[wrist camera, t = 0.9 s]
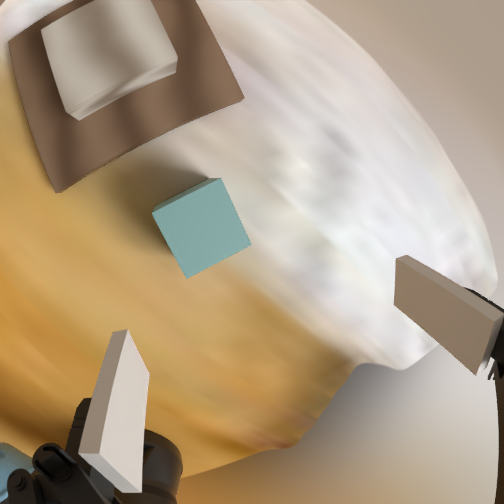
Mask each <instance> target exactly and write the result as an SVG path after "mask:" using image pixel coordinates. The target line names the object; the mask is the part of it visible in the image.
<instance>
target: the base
mask: <svg viewBox="0 0 504 504" xmlns="http://www.w3.org/2000/svg"><path fill="white" fill-rule="evenodd" d="M8 43H9V49H10V54H11V59H12V64H13V68H14V73H15V77H16V81H17V85H18V89H19V93H20V96H21V100H22V104H23V107H24V110H25V114H26V117H27V120H28V123H29V126H30V129H31V132H32V135H33V138H34V141H35V143H36V146H37V149H38V152H39V154H40V157H41V159H42V162H43V164H44V167H45V169H46V172H47V174H48V177H49V179H50V181H51V184H52V186H53V188H54V191H55V193H61V192H62V191H64V190H65V189H67V188H68V187H70V186H71V185H73V184H75V183H76V182H78V181H79V180H81V179H82V178H84V177H86V176H87V175H89V174H90V173H92V172H94V171H95V170H97V169H99V168H100V167H102V166H104V165H106V164H107V163H109V162H111V161H113V160H114V159H116V158H118V157H120V156H121V155H123V154H125V153H127V152H129V151H131V150H133V149H134V148H136V147H138V146H140V145H142V144H144V143H146V142H148V141H150V140H152V139H154V138H156V137H158V136H160V135H162V134H164V133H166V132H168V131H171V130H173V129H175V128H177V127H179V126H181V125H184V124H186V123H188V122H190V121H193V120H195V119H197V118H200V117H202V116H204V115H207V114H209V113H212V112H214V111H217V110H219V109H222V108H224V107H227V106H230V105H232V104H235V103H238V102H240V101H242V100H243V99H244V95H243V93H242V91H241V89H240V87H239V85H238V83H237V81H236V79H235V77H234V74H233V72H232V70H231V68H230V66H229V64H228V62H227V60H226V58H225V56H224V54H223V52H222V50H221V48H220V46H219V44H218V42H217V40H216V38H215V36H214V34H213V33H212V31H211V29H210V27H209V25H208V23H207V21H206V19H205V17H204V15H203V14H202V12H201V10H200V8H199V6H198V4H197V3H196V1H195V0H74V1H72V2H70V3H68V4H66V5H64V6H62V7H61V8H59V9H57V10H55V11H54V12H52V13H50V14H49V15H47V16H45V17H44V18H42V19H40V20H39V21H37V22H36V23H34V24H33V25H31V26H30V27H28V28H27V29H25V30H24V31H22V32H21V33H19V34H18V35H17V36H15V37H14V38H13V39H11V40H10V41H9V42H8Z"/></svg>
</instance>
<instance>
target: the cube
mask: <svg viewBox="0 0 504 504" xmlns="http://www.w3.org/2000/svg"><path fill="white" fill-rule="evenodd" d="M152 215H153V217H154V219H155V221H156V223H157V225H158V227H159V229H160V230H161V232H162V234H163V236H164V238H165V240H166V242H167V244H168V246H169V247H170V249H171V251H172V253H173V255H174V257H175V259H176V260H177V262H178V264H179V266H180V268H181V269H182V271H183V273H184V275H185V277H186V278H189V277H191V276H193V275H195V274H197V273H199V272H201V271H203V270H204V269H206V268H208V267H210V266H212V265H214V264H216V263H218V262H220V261H222V260H224V259H225V258H227V257H229V256H231V255H233V254H235V253H237V252H239V251H241V250H243V249H245V248H247V247H248V246H250V245H252V244H251V242H250V240H249V238H248V236H247V234H246V231H245V229H244V227H243V225H242V223H241V220H240V218H239V216H238V214H237V212H236V210H235V207H234V205H233V203H232V201H231V199H230V196H229V194H228V192H227V190H226V188H225V186H224V183H223V181H222V179H221V178H210V179H208V180H206V181H204V182H202V183H199V184H197V185H195V186H193V187H191V188H189V189H187V190H185V191H183V192H181V193H179V194H177V195H175V196H174V197H172V198H170V199H168V200H166V201H164V202H162V203H160V204H158V205H156V206H155V207H154V209H153V212H152Z"/></svg>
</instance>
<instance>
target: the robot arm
mask: <svg viewBox="0 0 504 504" xmlns="http://www.w3.org/2000/svg"><path fill="white" fill-rule="evenodd" d="M394 305H395V306H396V307H397V308H398V309H400V310H401V311H402V312H403V313H404V314H406V315H407V316H408V317H409V318H410V319H412V320H413V321H414V322H415V323H416V324H417V325H419V326H420V327H421V328H422V329H423V330H424V331H426V332H427V333H428V334H429V335H430V336H431V337H433V338H434V339H435V340H436V341H437V342H438V343H440V344H441V345H442V346H443V347H444V348H445V349H446V350H448V351H449V352H450V353H451V354H452V355H453V356H454V357H455V358H457V359H458V360H459V361H460V362H461V363H462V364H463V365H464V366H465V367H466V368H468V369H469V370H470V371H471V372H472V373H473V374H474V375H475V376H476V375H478V374H479V373H480V372H481V371H483V370H484V369H485V368H486V367H487V365H488V362H489V359H490V357H492V358H493V359H494V360H495V361H494V363H493V366H492V368H491V371H490V373H489V375H488V380H490V378H491V376H492V374H493V373H494V377H493V380H495V386H496V395H497V407H498V425H499V461H498V478H497V489H496V498H495V504H504V309H502V308H501V307H499V306H498V305H496V304H495V303H493V302H492V301H490V300H488V299H487V298H485V297H484V296H481V295H480V294H479V293H477V292H476V291H474V290H471V289H468V288H465V287H462V286H460V285H458V284H457V283H455V282H453V281H452V280H450V279H448V278H447V277H445V276H443V275H442V274H440V273H438V272H436V271H435V270H433V269H431V268H430V267H428V266H426V265H424V264H423V263H421V262H419V261H417V260H415V259H414V258H412V257H410V256H408V255H405V256H402V257H399V258H396V272H395V294H394ZM149 375H150V374H149V372H148V370H147V368H146V366H145V364H144V362H143V360H142V358H141V356H140V354H139V352H138V350H137V348H136V346H135V344H134V342H133V339H132V337H131V335H130V333H129V331H128V329H126V330H121V331H116V332H113V334H112V336H111V339H110V342H109V345H108V348H107V351H106V354H105V357H104V360H103V363H102V366H101V369H100V373H99V376H98V379H97V382H96V386H95V389H94V393H93V396H92V398H84V399H83V400H82V402H81V403H80V404H79V406H78V407H77V409H76V413H75V416H74V420H73V423H72V428H71V430H70V433H69V437H68V441H67V445H66V449H65V451H64V450H63V449H62V448H61V447H60V446H59V445H57V444H55V443H46V444H44V445H42V446H40V447H39V448H38V449H37V450H36V452H35V453H34V455H33V457H30V456H28V455H26V454H24V453H23V452H21V451H20V450H18V449H16V448H15V447H13V446H12V445H10V444H7V443H0V504H177V502H176V495H177V490H178V486H179V482H180V477H181V474H182V471H183V465H182V458H181V454H180V451H179V450H178V448H177V447H176V446H175V445H174V444H173V443H172V442H170V441H169V440H168V439H166V438H164V437H162V436H160V435H158V434H156V433H153V432H150V431H147V430H144V428H145V415H146V403H147V393H148V384H149Z"/></svg>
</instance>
